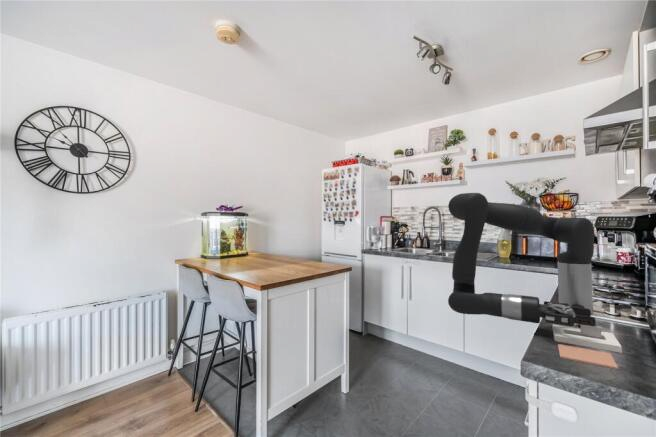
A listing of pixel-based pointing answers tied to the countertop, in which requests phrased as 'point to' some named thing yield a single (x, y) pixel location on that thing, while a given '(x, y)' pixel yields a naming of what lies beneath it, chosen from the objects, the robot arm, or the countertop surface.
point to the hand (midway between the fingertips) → (592, 317)
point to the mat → (587, 356)
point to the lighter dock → (585, 338)
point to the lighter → (588, 329)
